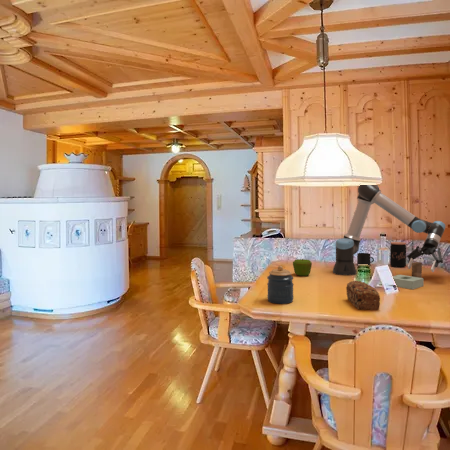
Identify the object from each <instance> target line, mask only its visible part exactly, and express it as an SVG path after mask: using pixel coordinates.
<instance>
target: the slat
mask: <svg viewBox="0 0 450 450" xmlns="http://www.w3.org/2000/svg"><path fill="white" fill-rule="evenodd" d="M422 266H423V262H422V261H421V262H420V261H413V263H412V266H411V276H412V277H418V278H423V277H422V276H423V275H422V274H423V272H422V270H423V267H422Z"/></svg>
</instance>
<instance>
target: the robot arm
mask: <svg viewBox="0 0 450 450" xmlns="http://www.w3.org/2000/svg"><path fill="white" fill-rule="evenodd" d="M359 185H360V184H359ZM359 185H358V187H357V193H358V195H357V198H356V199H357V204H356V208H355V211H354V213H353V215H352V219H351V221H350V225H349V228H348V230H347V233H345V234H344V236H343V238H338V239H337V240H336V241H335V262H334V265H333V268H332V273H333V274H335V275H340V276H354V275H357V269H356V266H355V263H354V260H355V259H354V258H355V257H354V255H356V254H357V253H358V251H359V250H360V244H361V240H362V239H361V238H360V237H361V234H362V231H363V228H364V225H365V223H366V219H367V218H368V214H369V211H370V209H371V206H372V205H374V204H375V205H377V206H378V207H379V208H381V209H383V210H384V211H385V212H387V213H388V214H390V215H392V217H394V218H396V219H398V220H399V221H400V222H401V223H403V224H405V226H407V227H409V228H410V229H411V230H412V231H414V232H415V233H419V234H420V233H424V234H426V235H427V236H426V238H425V240H424V243H423V245H422V247H420V246H419V245H418V246H416V248H415V249H414V250H413V251H411V252H410V253H409V254H408V255H406V258H407V259H408V261H407V265H406V266H407V268H408V270H411V269H412V263H414V262H415V261H414V260H415V259H417V258H419V257H421V256H423V255H425V256H427V255H428V256H431V255H432V257H433V258H434V261H433V263H432V265H431V268H430V271H431V272H432V273H434V272H435V270H436V268H438V267H439V264H443V263H444V260H443V257H442V249H441V248H440V247H439V244H440V241H441V239H442V238H443V237H442V236H443V234H444V232H445V229H446V224H445V223H444V222H443V221H441V220H435V221H433V222H430V221H428V220H424V219H422V218H419V217H418V216H416V215H414V214H413V213H411V212H410V211H408V210H407V209H406V208H404V207H403V206H401V205H400V204H398V203H397V202H395V201H394V200H393V199H391V198H390V197H388V196H387V195H385V194H383V193H382V190H381V189H380V187H379V186H378V185H379V184H377V185H360V186H359ZM435 253H437V255H438V258H437V256H436V254H435Z"/></svg>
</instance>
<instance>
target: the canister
mask: <svg viewBox="0 0 450 450" xmlns="http://www.w3.org/2000/svg"><path fill="white" fill-rule="evenodd" d="M268 274H269V275H267V276H266V277H267V280H268V282H267V294H266V296H267V297H266V298H267V301H268V302H269V303H272V304H279V305H280V304H281V305H286V304H290V303H291V304H292V302H293V301H294V283H293V279H294V276H292V272H291V271H290V270H289V269H285V268H284V267H283V266H282V265H278V266H277V268H275V269H272V270H270V271H268Z"/></svg>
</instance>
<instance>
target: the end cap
mask: <svg viewBox="0 0 450 450" xmlns="http://www.w3.org/2000/svg"><path fill="white" fill-rule="evenodd" d="M393 279H394V281H395V283H396V285H397V286H398V287H397V288H402V289H409V290H415V289H419V288H421V287H424V285H425V284H424V281H425V280H424V278H423V277H422V278H418V277H412V275H411V276H410V275H404V274H397V275H393Z"/></svg>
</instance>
